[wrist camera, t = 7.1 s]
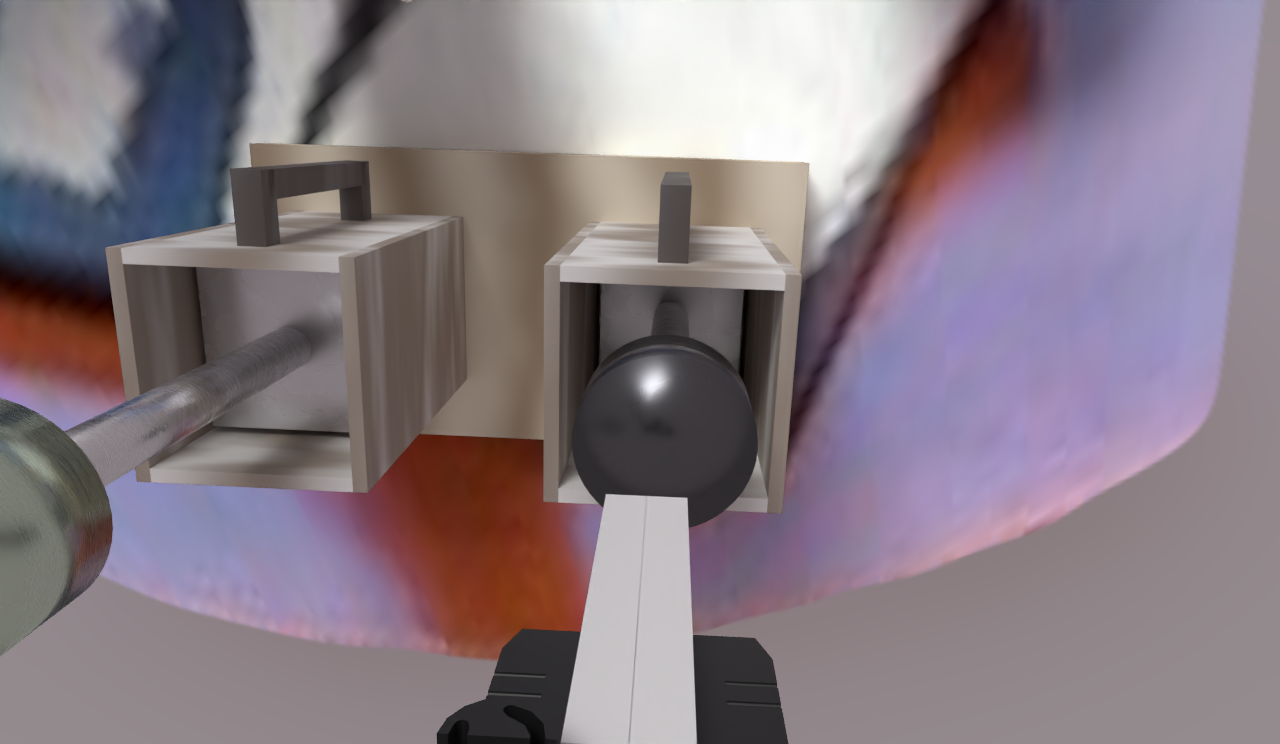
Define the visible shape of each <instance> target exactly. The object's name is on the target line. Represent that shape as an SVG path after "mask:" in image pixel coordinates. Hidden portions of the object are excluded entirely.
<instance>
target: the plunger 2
mask: <svg viewBox="0 0 1280 744" xmlns="http://www.w3.org/2000/svg"><path fill="white" fill-rule="evenodd" d="M743 292H744V289H731V288H706V287H681V286H657V285H632V284H607V283H601V320H600V365H599V366H598V368H597V369H596V371H595V372H594V373H593V375H592V377H591V379H590V381H589V383H588V385H587V388H586V391H585V393H584V396H583V399H582V402H581V404H580V407H579V410H578V412H577V415H576V418H575V422H574V426H573V433H572V452H573V458H574V463H575V466H576V469H577V472H578V475H579V477H580V479H581V481H582V483H583V485H584V486H585V487H586V489H587V490H588V492H589V493H590V495H591V496H592V497H593V498H594V499H595V500H596V501H597V503H599V504H600V505H601V506H602V507H603V508H604V502H605V497H606V494H614V495H636V496H658V497H680V498H687V501H688V527H693V526H696V525H699V524H701V523H704V522H706V521H708V520H710V519H712V518H714V517H716V516H717V515H719V514H720V513H722V512H723V511H724V510H726V509H727V508H728V507H729V506H730V505H731V504H732V503H733V502H735V500H736V499H737V498H738V497H739V496H740V494H741V493H742V492H743V490H744V489H745V487H746V485H747V484H748V482H749V480H750V478H751V475H752V473H753V470H754V467H755V463H756V459H757V452H758V435H757V428H756V423H755V420H754V416H753V412H752V408H751V404H750V401H749V397H748V393H747V390H746V387H745V385H744V383H743V381H742V379H741V377H740V375H739V374H738V367H739V352H740V337H741V322H742V307H743Z"/></svg>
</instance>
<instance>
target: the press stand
mask: <svg viewBox="0 0 1280 744" xmlns="http://www.w3.org/2000/svg"><path fill="white" fill-rule="evenodd" d="M250 154H251V165H252V167H248V168H235V169H230V174H231V185H232V195H233V206H234V217H235V222H234V223H229V224H224V225H219V226H214V227H209V228H203V229H198V230H193V231H188V232H183V233H178V234H173V235H167V236H162V237H157V238H152V239H147V240H142V241H137V242H131V243H126V244H121V245H116V246H111V247H106V248H105V249H106V257H107V264H108V271H109V279H110V286H111V293H112V301H113V308H114V316H115V323H116V330H117V338H118V345H119V352H120V360H121V367H122V375H123V382H124V389H125V397H126V402H127V401H129V400H131V399H133V398H135V397H137V396H139V395H141V394H143V393H146V392H148V391H150V390H152V389H154V388H156V387H158V386H160V385H162V384H164V383H166V382H168V381H170V380H173V379H175V378H177V377H179V376H181V375H183V374H185V373H187V372H189V371H191V370H193V369H195V368H198V367H200V366H202V365H204V364H206V356H205V347H204V337H203V328H202V319H201V310H200V300H199V291H198V282H197V272H196V267H211V268H236V269H261V270H285V271H310V272H335V273H339V275H340V291H341V307H342V323H343V339H344V355H345V371H346V387H347V403H348V419H349V432H329V431H307V430H286V429H265V428H243V427H222V426H213V421H211V422H210V423H208V424H206V425H205V426H203V427H202V428H200V429H198V430H197V431H195V432H193V433H192V434H190V435H188V436H187V437H185V438H184V439H182V440H180V441H179V442H177V443H175V444H174V445H172V446H170V447H169V448H167V449H165V450H164V451H162V452H161V453H159V454H157V455H156V456H154V457H152V458H151V459H149V460H147V461H146V462H144V463H143V464H141V465H139V466H138V467H136V468H135V470H136V478H137V482H155V483H176V484H196V485H216V486H236V487H257V488H277V489H297V490H317V491H337V492H358V493H368V492H369V491H370V490H371V489H372V487H373V486H374V485H375V484H376V483H377V482H378V481H379V479H380V478H381V477H382V476H383V475H384V474H385V473H386V471H387V470H388V469H389V468H390V467H391V466H392V465H393V463H394V462H395V461H396V460H397V459H398V458H399V457H400V455H401V454H402V453H403V452H404V451H405V450H406V448H407V447H408V446H409V445H410V444H411V443H412V442H413V440H414V439H415V438H416V437H417V436H418V435H419V434H434V435H455V436H476V437H498V438H519V439H540V440H544V485H543V502H560V503H580V504H599V503H597V501H596V500H595V499H594V498H593V497H592V496H591V495H590V493H589V492H588V490H587V489H586V487H585V486H584V485H583V483H582V481H581V479H580V477H579V475H578V472H577V469H576V466H575V463H574V458H573V452H572V433H573V426H574V422H575V418H576V415H577V412H578V410H579V407H580V404H581V402H582V399H583V396H584V393H585V391H586V388H587V385H588V383H589V381H590V379H591V377H592V375H593V373H594V372H595V371H596V369H597V368H598V366H599V365H600V320H601V283H607V284H632V285H657V286H681V287H706V288H731V289H744V292H743V307H742V322H741V337H740V352H739V367H738V374H739V375H740V377H741V379H742V381H743V383H744V385H745V387H746V390H747V393H748V397H749V401H750V404H751V408H752V412H753V416H754V420H755V423H756V428H757V435H758V452H757V459H756V463H755V467H754V470H753V473H752V475H751V478H750V480H749V482H748V484H747V485H746V487H745V489H744V490H743V492H742V493H741V494H740V496H739V497H738V498H737V499H736V500H735V502H733V503H732V504H731V505H730V506H729V507H728V508H727V509H726V510H724V511H742V512H762V513H782V507H783V495H784V484H785V472H786V460H787V448H788V436H789V425H790V413H791V401H792V389H793V377H794V366H795V354H796V342H797V330H798V318H799V307H800V295H801V283H802V275H801V273H800V269H801V257H802V245H803V233H804V221H805V209H806V197H807V186H808V174H809V163H806V162H789V161H760V160H732V159H703V158H675V157H646V156H618V155H589V154H561V153H532V152H504V151H476V150H447V149H419V148H390V147H362V146H333V145H305V144H276V143H256V144H250Z"/></svg>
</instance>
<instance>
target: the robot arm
mask: <svg viewBox="0 0 1280 744" xmlns="http://www.w3.org/2000/svg"><path fill="white" fill-rule="evenodd" d="M437 744H788V740H787V734H786V729H785V724H784V718H783V713H782V709H781V702H780V697H779V691H778V688H777V681H776V675H775V670H774V665H773V660H772V658H771V657H770V656H769V655H768V654H767V652H766V651H765V650H764V649H763V647H762V646H761V645H760V644H759V642H758V641H757V640H756V639H755V638H743V637H723V636H721V637H720V636H703V635H693V631H692V605H691V579H690V553H689V527H688V501H687V498H680V497H658V496H636V495H614V494H606V497H605V502H604V508H603V513H602V519H601V524H600V530H599V535H598V540H597V546H596V551H595V557H594V562H593V568H592V573H591V579H590V584H589V590H588V595H587V601H586V606H585V612H584V617H583V623H582V628H581V632H574V631H554V630H534V629H522V630H521V631H520V632H519V633H518V634H517V635H516V636H515V637H513V638H512V639H511V640H510V641H509V642H508V643H507V644H506V645H505V646H504V647H503V648H502V651H501V654H500V657H499V660H498V663H497V666H496V669H495V674H494V676H493V678H492V681H491V685H490V687H489V690H488V696H487V697H486V699H485V700H482V701H479V702H476V703H473V704H470V705H467V706H464V707H463V708H461V709H460V710H458V711H457V712H455V713H454V714H453V715H451V716H450V717H448V718H447V719H446V721H445V722H444V724H443V725H442V726H441V728H440V729H439V731H438V733H437Z"/></svg>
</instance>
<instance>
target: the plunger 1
mask: <svg viewBox="0 0 1280 744" xmlns="http://www.w3.org/2000/svg"><path fill="white" fill-rule="evenodd" d="M196 272H197V282H198V291H199V300H200V310H201V319H202V328H203V337H204V347H205V356H206V364H204V365H202V366H200V367H198V368H195V369H193V370H191V371H189V372H187V373H185V374H183V375H181V376H179V377H177V378H175V379H173V380H170V381H168V382H166V383H164V384H162V385H160V386H158V387H156V388H154V389H152V390H150V391H148V392H146V393H143V394H141V395H139V396H137V397H135V398H133V399H131V400H129V401H127V402H125V403H123V404H121V405H118V406H116V407H114V408H112V409H110V410H108V411H106V412H104V413H102V414H100V415H98V416H96V417H93V418H91V419H89V420H87V421H85V422H83V423H81V424H79V425H77V426H75V427H73V428H71V429H68V430H66V431H63V430H61V429H60V428H59V427H58V426H56V425H55V424H54V423H52V422H51V421H49V420H48V419H46V418H45V417H43V416H42V415H40V414H38V413H37V412H35V411H33V410H31V409H28V408H26V407H24V406H22V405H20V404H17V403H14V402H11V401H9V400H5V399H1V398H0V656H1V655H3V654H4V653H5V652H7V651H8V650H9V649H10V648H12V647H13V646H14V645H16V644H17V643H18V642H20V641H21V640H22V639H23V638H25V637H26V636H27V635H29V634H30V633H31V632H32V631H34V630H35V629H37V628H38V627H39V626H40V625H42V624H43V623H44V622H45V621H47V620H48V619H50V618H51V617H52V616H54V615H55V614H56V613H57V612H59V611H60V610H61V609H62V608H64V607H65V606H66V605H68V604H69V603H70V602H72V601H73V600H74V599H75V598H77V597H78V596H80V595H81V594H82V593H83V592H84V591H85V590H87V589H88V588H89V587H90V586H91V585H92V583H93V582H94V581H95V580H96V579H97V577H98V576H99V574H100V572H101V571H102V569H103V567H104V565H105V563H106V560H107V558H108V555H109V551H110V547H111V542H112V530H113V526H112V513H111V509H110V504H109V499H108V496H107V494H106V491H105V488H104V487H105V486H106V485H108V484H110V483H111V482H113V481H115V480H116V479H118V478H120V477H121V476H123V475H125V474H126V473H128V472H129V471H131V470H133V469H134V468H136V467H138V466H139V465H141V464H143V463H144V462H146V461H147V460H149V459H151V458H152V457H154V456H156V455H157V454H159V453H161V452H162V451H164V450H165V449H167V448H169V447H170V446H172V445H174V444H175V443H177V442H179V441H180V440H182V439H184V438H185V437H187V436H188V435H190V434H192V433H193V432H195V431H197V430H198V429H200V428H202V427H203V426H205V425H206V424H208V423H210V422H211V421H213V426H222V427H243V428H265V429H286V430H307V431H329V432H349V419H348V403H347V387H346V371H345V355H344V339H343V323H342V307H341V291H340V275H339V273H335V272H310V271H285V270H261V269H236V268H211V267H196Z"/></svg>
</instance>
